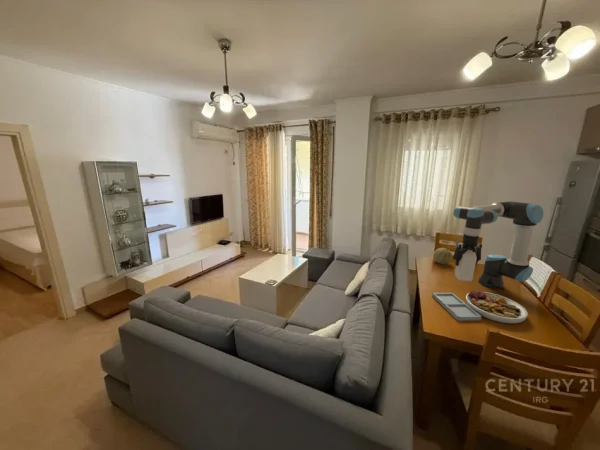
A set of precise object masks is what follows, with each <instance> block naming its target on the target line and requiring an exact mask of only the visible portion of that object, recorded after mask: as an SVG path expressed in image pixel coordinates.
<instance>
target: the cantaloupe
mask: <svg viewBox="0 0 600 450" xmlns="http://www.w3.org/2000/svg"><path fill="white" fill-rule="evenodd" d="M433 258H434V260H435V261H436V262H437V264H438V263H439V264H441V265H445V264H446V265H447V264H449V263H451V261H452V259H453V254H452V252H451V251H450V250H449V248H446V247H438V248H437V249H436V250H435V251H434V252H433Z"/></svg>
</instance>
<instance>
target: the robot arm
mask: <svg viewBox="0 0 600 450" xmlns="http://www.w3.org/2000/svg"><path fill="white" fill-rule="evenodd" d="M453 217H454V218H457V219H461V220H465V225H464V230H463V231H464V232H463V233H464V234H463V236H462V242H460V243H459V242H458V243H456V247H455V251H454V254H453V255H452V259H454V260H455V269H454V271H455V270H457V271H460V265H461V261H460V260H461V258H462V256H463V254H465V252H467V250H472V251H473V252H475V253H476V257H477V259H476V264H475V267H476V266H477V264H478V262H479V261H481V260H482V248H483V244H481V243H478V242H479V240H480V235H481V229H482V225H486V224H488V225H489V224H492V223H493V224H494V223H496V222H497V220H498V218H499V217H500V218H504V219H508V220H512V224H513V225H514V231H513V238H512V244H511V250H510V257H509V258H508V257H507V256H505V255H501V254H495V253H494V254H492V253H491V254H488V255H486V256H485V260H484V265H483V271H482V274H481V275H480V276H479V277H478V280H477V281H479V282H478V283H479V284H480V283H481V285H482V286H484V287H487V288H491V289H498V290H499V289H503V288H504V285H505V283H504V278H503V277H507V278H508V279H511V280H514V281H517V282H520V283H521V282H526V281H528V280H529V279H530V277H531V276H532V274H533V271H534V270H533V267H532V266H530V261H528V257H529V256H528V255H529V250H530V245H531V241H532V234H533V228H534V227H537V224H539V223H541V222H542V221H543V218H544V209H543V207H542V206H541V205H539V204H534V203H529V202H520V201H519V202H518V201H499V202H492V203H491V204H484V205H478V206H475V205H474V206H467V207H466V206H456V207H454V210H453Z"/></svg>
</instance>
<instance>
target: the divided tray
mask: <svg viewBox="0 0 600 450" xmlns="http://www.w3.org/2000/svg"><path fill="white" fill-rule="evenodd" d="M431 293H432V295H431V297H432V298H433V299H435V300H436V301H437V302H438V304H440V306H442V307H443V308H444V309H445V310H446V311H447V312H448V313H449V314H450V315H451V316H452V317H453V318H454V319H455V320H457V321H458V322H459V321H460V322H461V321H482V317H483V316H481V315H479V314H478V313H477V312H476V311H474V310H473V309H472V308H471V307H469V306H468V304H467V303H466V302H465V301H464V300H462V299H461V298H460V297H458V295H456V294H454V293H453V292H431Z"/></svg>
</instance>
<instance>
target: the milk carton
mask: <svg viewBox="0 0 600 450" xmlns="http://www.w3.org/2000/svg"><path fill="white" fill-rule="evenodd" d="M476 259H477V257H476V253H475V252H473V251H472V250H467V252H465V254H463V256H462V258H461V260H460V261H461V265H460V271H457V270H455V269H454V276H455V277H456V278H457V280H458V281H463V282H465V281H466V282H473V279H474V274H475V268H476V266H475V264H476V265H477V263H476Z"/></svg>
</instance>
